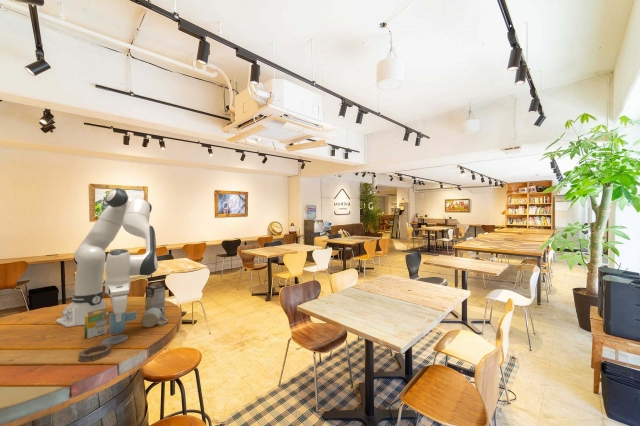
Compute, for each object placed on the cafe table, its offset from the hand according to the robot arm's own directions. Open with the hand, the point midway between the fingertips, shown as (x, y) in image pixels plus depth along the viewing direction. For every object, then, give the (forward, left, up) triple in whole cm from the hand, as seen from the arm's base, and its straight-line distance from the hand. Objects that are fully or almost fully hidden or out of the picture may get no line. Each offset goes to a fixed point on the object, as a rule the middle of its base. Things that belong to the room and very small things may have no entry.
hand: (117, 319), depth 115 cm
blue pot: (+1, +2, -5) cm, 6 cm away
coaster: (0, -1, -9) cm, 9 cm away
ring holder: (+6, -12, -9) cm, 16 cm away
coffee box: (-11, +27, -9) cm, 31 cm away
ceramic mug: (0, +18, -9) cm, 20 cm away
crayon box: (-14, 0, -9) cm, 17 cm away
